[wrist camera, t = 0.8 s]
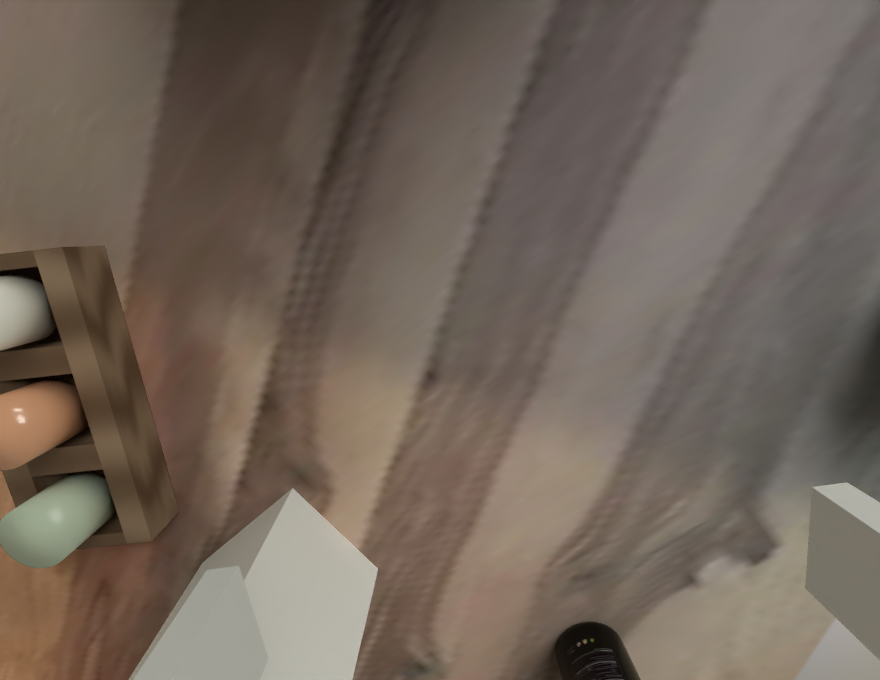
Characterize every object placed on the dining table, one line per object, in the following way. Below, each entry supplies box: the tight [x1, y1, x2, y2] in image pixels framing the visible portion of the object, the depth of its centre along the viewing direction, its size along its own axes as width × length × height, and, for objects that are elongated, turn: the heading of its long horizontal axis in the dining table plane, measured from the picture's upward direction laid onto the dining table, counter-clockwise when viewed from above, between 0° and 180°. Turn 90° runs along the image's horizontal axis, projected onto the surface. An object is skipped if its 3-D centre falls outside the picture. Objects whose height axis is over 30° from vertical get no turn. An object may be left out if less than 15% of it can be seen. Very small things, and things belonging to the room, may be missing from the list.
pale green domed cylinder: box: [0, 471, 116, 568], centre depth 34 cm, size 5×5×5 cm
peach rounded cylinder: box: [0, 378, 88, 470], centre depth 32 cm, size 5×5×5 cm
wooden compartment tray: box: [0, 246, 179, 549], centre depth 35 cm, size 24×10×4 cm, turn 6°
